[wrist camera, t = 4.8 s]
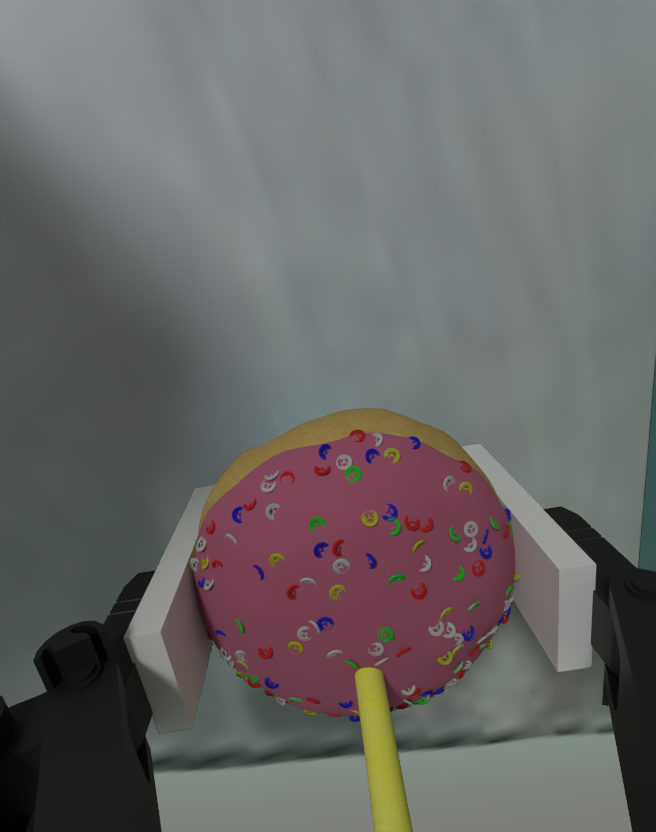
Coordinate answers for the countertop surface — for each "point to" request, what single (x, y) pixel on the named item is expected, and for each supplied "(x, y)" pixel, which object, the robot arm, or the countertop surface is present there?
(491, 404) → the countertop surface
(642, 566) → the tub
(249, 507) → the cupcake
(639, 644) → the robot arm
